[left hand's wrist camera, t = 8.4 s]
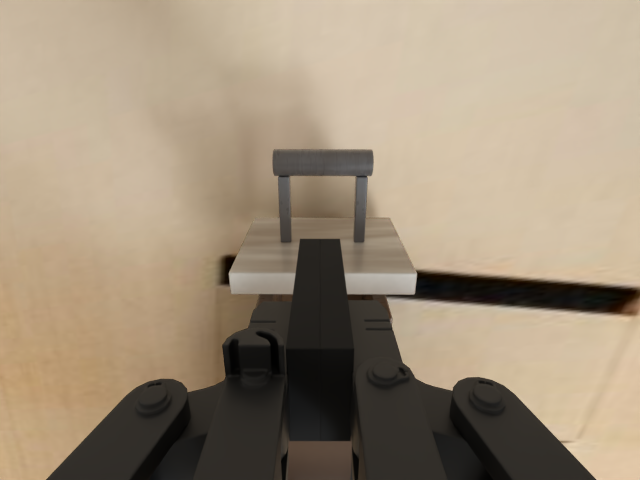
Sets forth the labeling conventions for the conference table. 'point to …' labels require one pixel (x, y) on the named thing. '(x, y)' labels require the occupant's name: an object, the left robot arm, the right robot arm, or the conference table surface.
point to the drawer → (323, 236)
